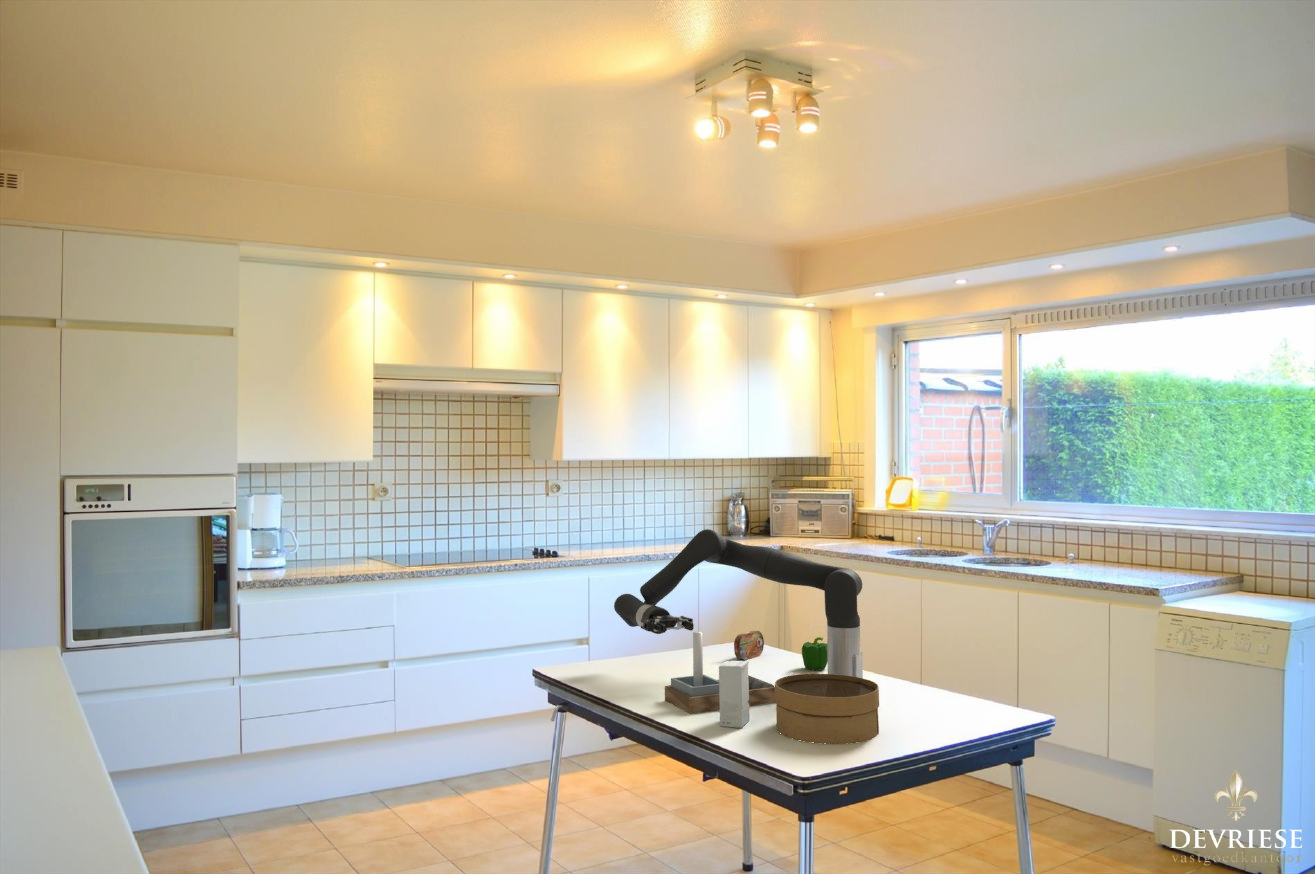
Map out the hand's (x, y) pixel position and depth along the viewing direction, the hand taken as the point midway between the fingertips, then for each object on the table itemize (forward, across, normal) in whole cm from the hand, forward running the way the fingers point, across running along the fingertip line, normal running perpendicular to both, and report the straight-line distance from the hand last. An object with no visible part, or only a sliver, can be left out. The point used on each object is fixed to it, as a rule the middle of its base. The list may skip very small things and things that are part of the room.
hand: (678, 627), depth 271 cm
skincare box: (+32, 0, +18) cm, 37 cm away
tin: (-35, +44, +19) cm, 59 cm away
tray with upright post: (+11, 0, +17) cm, 21 cm away
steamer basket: (+47, +17, +18) cm, 53 cm away
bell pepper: (-11, +53, +18) cm, 57 cm away
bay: (+12, +7, +18) cm, 23 cm away
